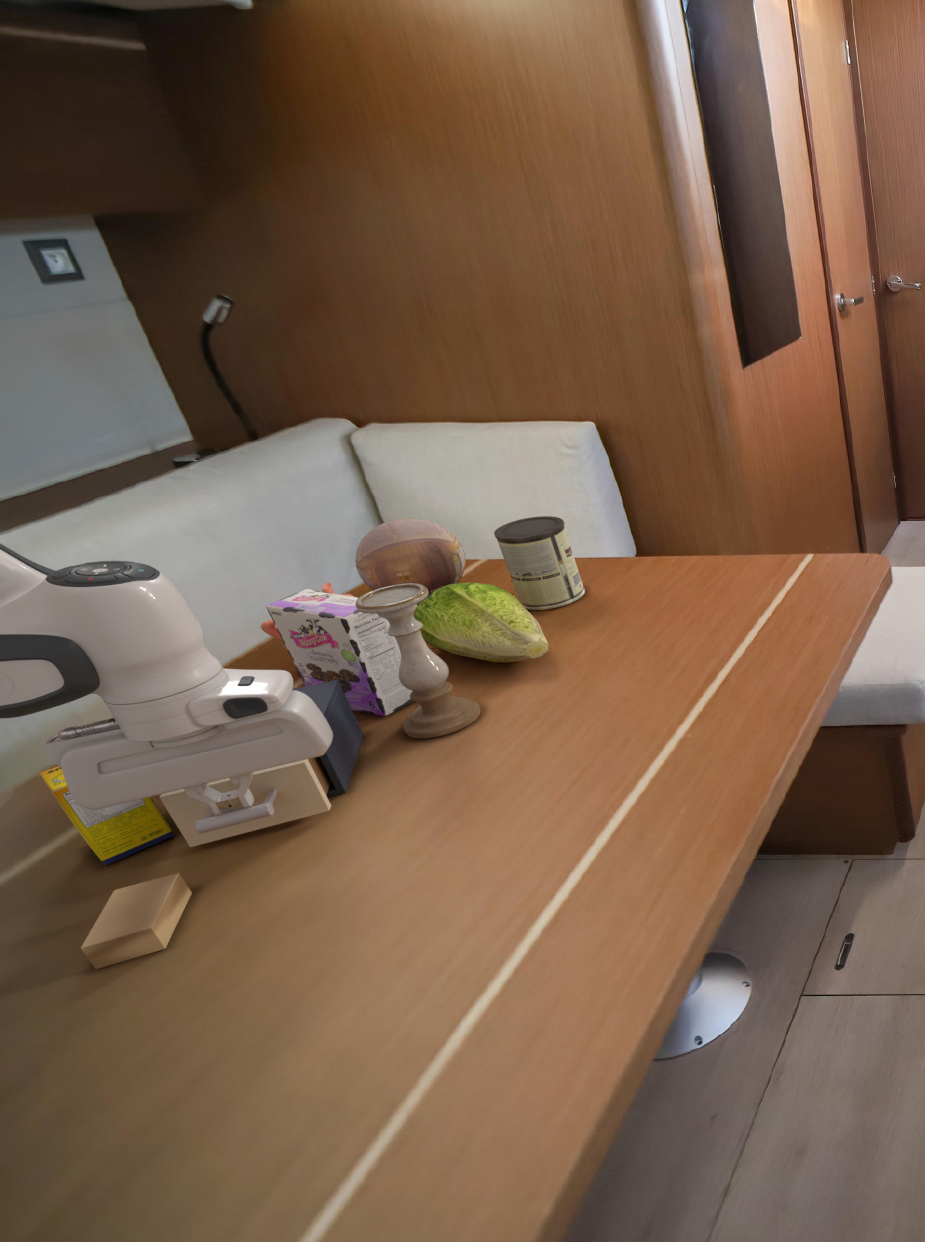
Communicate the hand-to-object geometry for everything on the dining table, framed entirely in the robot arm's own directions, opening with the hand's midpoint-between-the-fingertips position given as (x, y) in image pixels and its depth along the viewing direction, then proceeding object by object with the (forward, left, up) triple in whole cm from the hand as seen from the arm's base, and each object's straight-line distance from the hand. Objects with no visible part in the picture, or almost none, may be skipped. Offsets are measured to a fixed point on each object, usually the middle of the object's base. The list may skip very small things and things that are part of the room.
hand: (236, 807), depth 100 cm
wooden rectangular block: (-7, -10, -6) cm, 14 cm away
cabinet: (0, +15, -6) cm, 17 cm away
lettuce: (+22, +41, -6) cm, 46 cm away
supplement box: (-13, +9, -6) cm, 17 cm away
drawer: (0, +7, -5) cm, 9 cm away
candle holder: (+16, +21, -6) cm, 27 cm away
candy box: (+6, +33, -6) cm, 34 cm away
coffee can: (+29, +59, -6) cm, 66 cm away
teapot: (0, +52, -6) cm, 52 cm away
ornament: (+10, +71, -6) cm, 72 cm away
